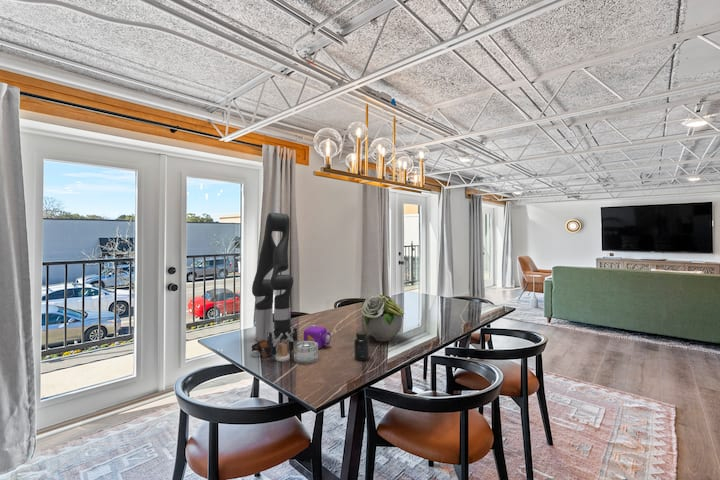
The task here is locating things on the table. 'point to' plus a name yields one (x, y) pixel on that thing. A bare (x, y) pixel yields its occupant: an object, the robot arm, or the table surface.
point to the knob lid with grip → (282, 353)
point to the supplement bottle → (361, 346)
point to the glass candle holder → (305, 352)
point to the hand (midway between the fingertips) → (282, 352)
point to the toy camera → (317, 335)
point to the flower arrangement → (382, 317)
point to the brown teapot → (262, 345)
